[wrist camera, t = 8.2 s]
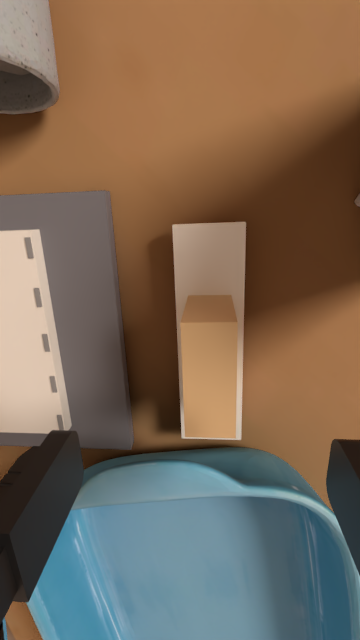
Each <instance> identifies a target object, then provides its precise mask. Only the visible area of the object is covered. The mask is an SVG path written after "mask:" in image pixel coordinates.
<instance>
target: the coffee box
mask: <svg viewBox="0 0 360 640" xmlns="http://www.w3.org/2000/svg"><path fill="white" fill-rule="evenodd" d="M355 204H356V205H357V206H359V207H360V193H359V195H358V196H357V198H356V199H355Z"/></svg>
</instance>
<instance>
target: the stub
mask: <svg viewBox="0 0 360 640" xmlns="http://www.w3.org/2000/svg"><path fill="white" fill-rule="evenodd" d="M172 230H173V252H174V275H175V298H176V320H177V343H178V366H179V388H180V411H181V434H182V438H188V439H223V440H241V424H242V380H243V336H244V293H245V249H246V222H221V223H195V224H173V225H172Z"/></svg>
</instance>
